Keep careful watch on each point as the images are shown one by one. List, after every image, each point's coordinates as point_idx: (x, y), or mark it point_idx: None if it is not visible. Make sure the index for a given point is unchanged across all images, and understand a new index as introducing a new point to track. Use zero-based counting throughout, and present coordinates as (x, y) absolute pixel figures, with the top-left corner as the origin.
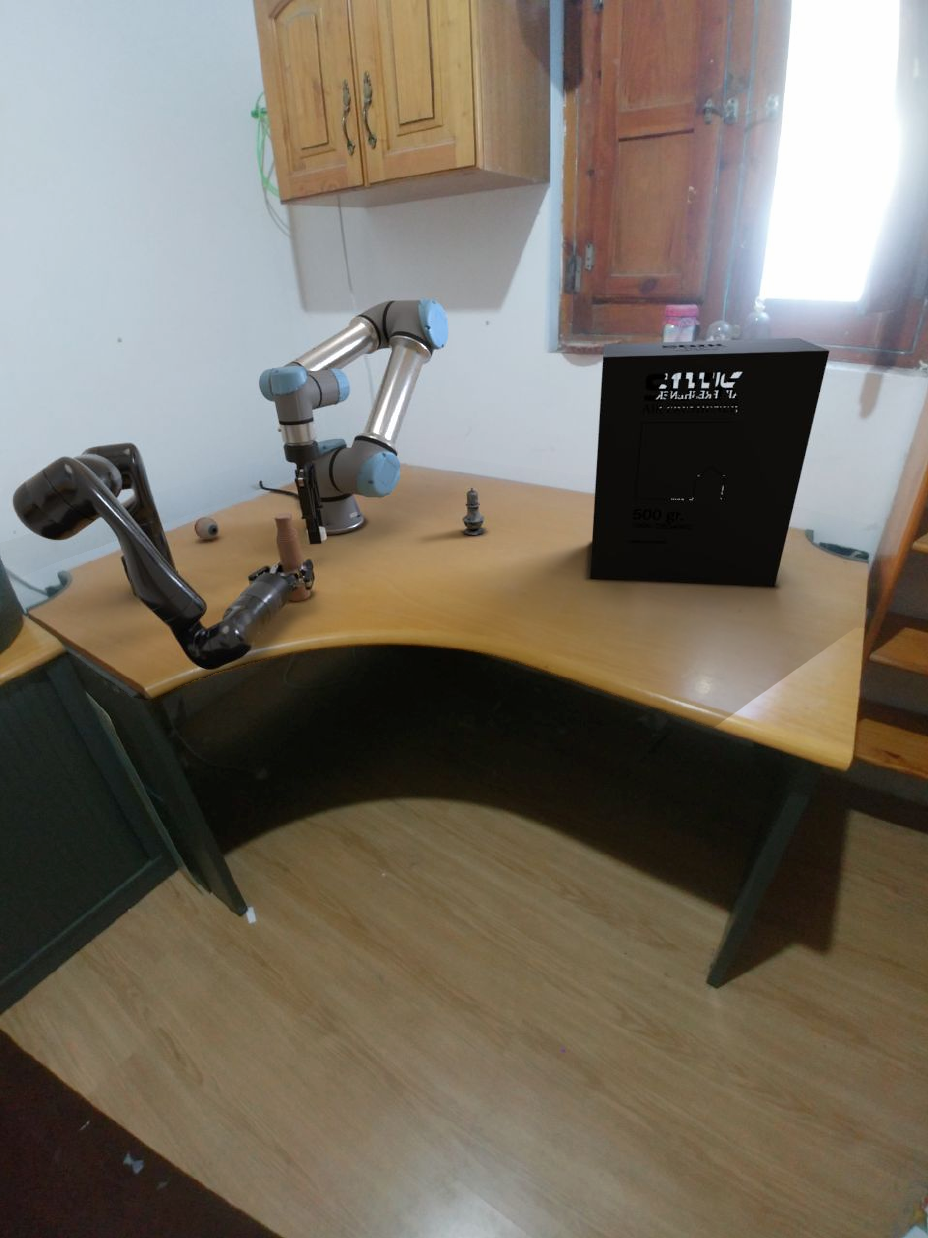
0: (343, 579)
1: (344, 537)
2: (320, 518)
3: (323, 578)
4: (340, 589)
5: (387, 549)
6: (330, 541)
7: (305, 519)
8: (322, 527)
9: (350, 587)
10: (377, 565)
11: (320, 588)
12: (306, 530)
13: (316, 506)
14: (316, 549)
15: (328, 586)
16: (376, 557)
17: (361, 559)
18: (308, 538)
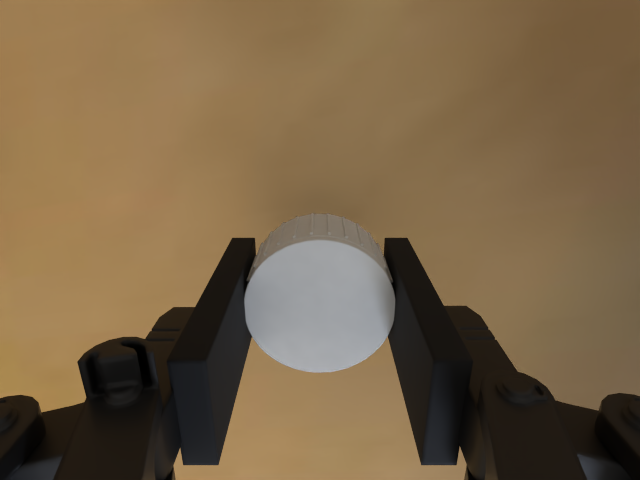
0: (106, 340)
1: (608, 298)
2: (403, 391)
3: (114, 258)
4: (11, 338)
5: (390, 471)
6: (581, 233)
7: (173, 353)
8: (363, 352)
9: (33, 372)
10: (236, 446)
11: (11, 258)
12: (318, 241)
13: (474, 468)
14: (489, 171)
15: (34, 289)
16: (316, 440)
17: (306, 390)
18: (274, 235)
